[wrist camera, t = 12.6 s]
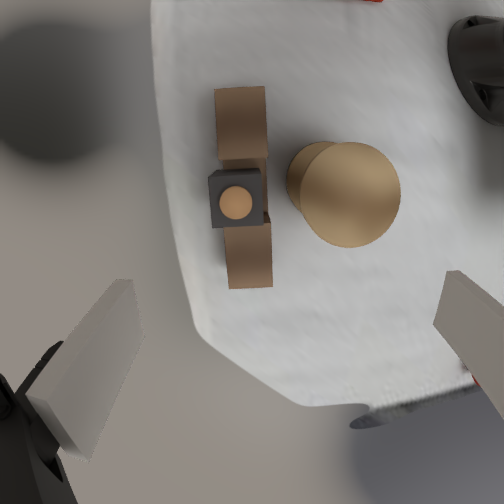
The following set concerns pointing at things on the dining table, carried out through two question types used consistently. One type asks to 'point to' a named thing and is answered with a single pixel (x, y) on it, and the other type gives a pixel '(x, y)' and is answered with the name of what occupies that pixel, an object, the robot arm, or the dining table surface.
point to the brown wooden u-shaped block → (240, 157)
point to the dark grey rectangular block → (236, 198)
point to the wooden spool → (344, 191)
